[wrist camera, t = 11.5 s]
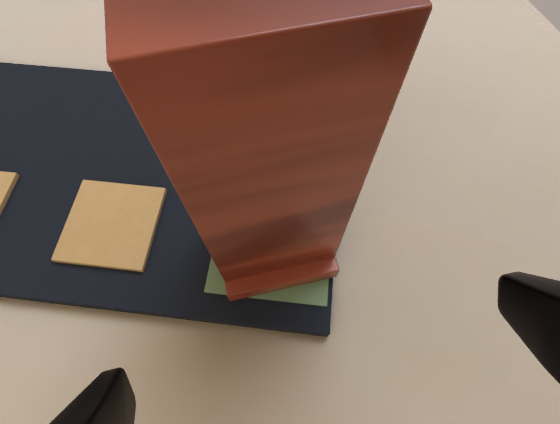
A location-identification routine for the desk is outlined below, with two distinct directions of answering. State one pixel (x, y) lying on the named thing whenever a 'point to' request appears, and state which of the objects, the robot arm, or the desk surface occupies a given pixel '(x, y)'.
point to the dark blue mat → (111, 213)
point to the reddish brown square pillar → (265, 118)
